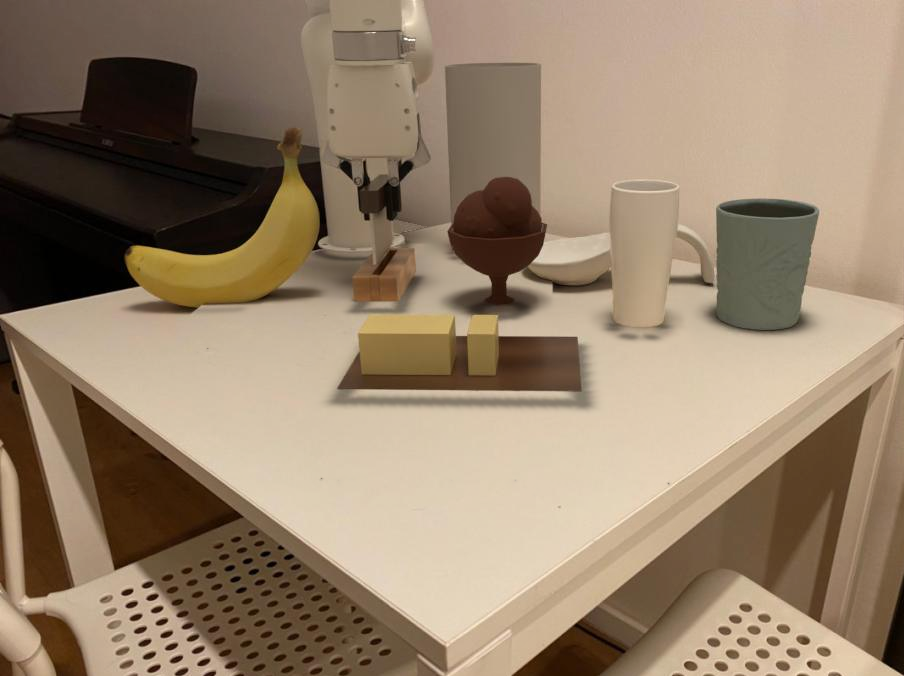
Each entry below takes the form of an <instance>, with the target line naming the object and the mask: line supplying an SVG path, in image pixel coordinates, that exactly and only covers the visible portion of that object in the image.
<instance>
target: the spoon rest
mask: <svg viewBox="0 0 904 676" xmlns="http://www.w3.org/2000/svg"><path fill="white" fill-rule="evenodd" d="M676 238H678V239H680V240H682V241H684V242H686V243H687V244H689V245H690V246H691V247H693V249H694V250H695V251H696V253H697V254H698V257H699V261H700V275H701V278H702V280H703V281H704V282H705V283H706V284H707V283H708V284H712V283H714V281H715V266H714V261H713V257H712V255H711V253H710V251H709V249H708V247H707V244H706V243H705V241H704V240H703V238H702V237H701V236H700V235H699V234H698V233H697V232H695V231H694V230H692V229H691V228H689V227H687V226H685V225H683V224H680V223H678V228H677V235H676ZM527 267H528V269H529V270H530V271H531V272H532V273H533V274H535V275H536V276H537V277H540V278H541V279H545V280H549V281H552V283H553V284H556V285H561V286H583V285H589V284H592V283H594V282H596V281H597V280H598V279H599V277H601V276H602V275H604V274H605V273H606V272H607V271H608V270H609V269H611V252H610V231H608V232H603V233H597V234H591V235H585V236H584V235H583V236H576V237H566V238H559V239H553V240H548V241H544V244H543V247H542V249H541V251H540V253H539V255H538V257H537V258H536V259H535V260H534V261H533V262H532V263H531V264H530V265H529V266H527Z"/></svg>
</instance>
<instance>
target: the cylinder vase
mask: <svg viewBox="0 0 904 676" xmlns="http://www.w3.org/2000/svg"><path fill="white" fill-rule="evenodd" d="M444 79H445V81H444V82H445V102H446V103H445V105H446V130H447V152H448V154H447V155H448V177H449V181H448V182H449V203H450V205H449V207H450V226H451V225H452V224H453V221H454V215H455V213H456V210H457V207H458V206H459V205H460V203H461V202H462V201H463V200H464V199H465V197H466V196H467V195H469V194H471V193H473V192H475V191H479V190H484V189H485V187H486V186H487V185H488V183H489V182H490V181H491V180H492V179H494V178H499V177H512V178H516V179H519V180H520V181H521V182H522V183H523V184H524V185H525V186H526V187H527V188H528V190H529V192H530V194H531V199H532V206H533V207H534V208H535V209H536V210H537V211H538V213H539V214H540V215H541V210H542V209H541V205H542V203H541V199H542V197H541V193H542V192H541V191H542V189H541V188H542V186H541V184H542V183H541V181H542V179H541V178H542V177H541V175H542V174H541V173H542V167H541V165H542V163H541V162H542V152H541V151H542V63H538V62H472V63H471V62H470V63H469V62H468V63H453V64H445V65H444ZM451 248H452V247H451ZM452 250H453V248H452Z"/></svg>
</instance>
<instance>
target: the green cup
mask: <svg viewBox="0 0 904 676" xmlns="http://www.w3.org/2000/svg"><path fill="white" fill-rule="evenodd" d="M819 215H820V209H819V208H818V207H817V206H816V205H814V204H811V203H808V202H805V201H799V200H792V199H783V198H741V199H734V200H727V201H723V202H721V203H719V204H717V206H716V208H715V219H716V220H715V221H716V222H715V224H716V228H715V229H716V230H715V231H716V260H715V263H716V264H715V265H716V290H717V294H716V316H717V318H718V319H719V320H720V321H722V322H723V323H725V324H728V325H730V326H733V327H736V328H740V329H741V328H742V329H745V330H752V331H753V330H754V331H776V330H777V331H778V330H785V329H790V328H791V327H793V326H795V325H796V324H797V323H798V320H799V318H800V314H801V308H802V301H803V295H804V292H805V287H806V283H807V276H808V273H809V272H808V270H809V266H810V258H811V257H812V246H813V243H814V240H815V236H816V235H815V234H816V230H817V225H818V220H819Z"/></svg>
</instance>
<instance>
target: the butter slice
mask: <svg viewBox="0 0 904 676" xmlns="http://www.w3.org/2000/svg"><path fill="white" fill-rule="evenodd" d="M466 333H467V334H466V336H467V346H468V373H469V375H475V376H495V375H496V369H497V363H498V357H499V336H500V335H499V315H498V314H472V315H471V318H470V322H469V326H468V330H467V332H466Z"/></svg>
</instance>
